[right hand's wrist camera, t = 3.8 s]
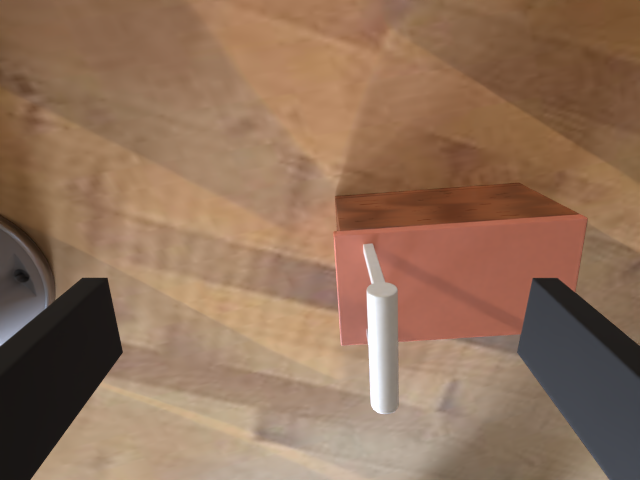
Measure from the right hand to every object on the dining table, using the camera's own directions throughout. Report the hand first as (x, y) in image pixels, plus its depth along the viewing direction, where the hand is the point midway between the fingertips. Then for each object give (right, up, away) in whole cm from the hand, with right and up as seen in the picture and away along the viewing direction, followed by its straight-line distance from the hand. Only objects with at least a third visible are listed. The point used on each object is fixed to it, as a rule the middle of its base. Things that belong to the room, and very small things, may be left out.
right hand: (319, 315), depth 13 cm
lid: (+10, -1, +18) cm, 21 cm away
